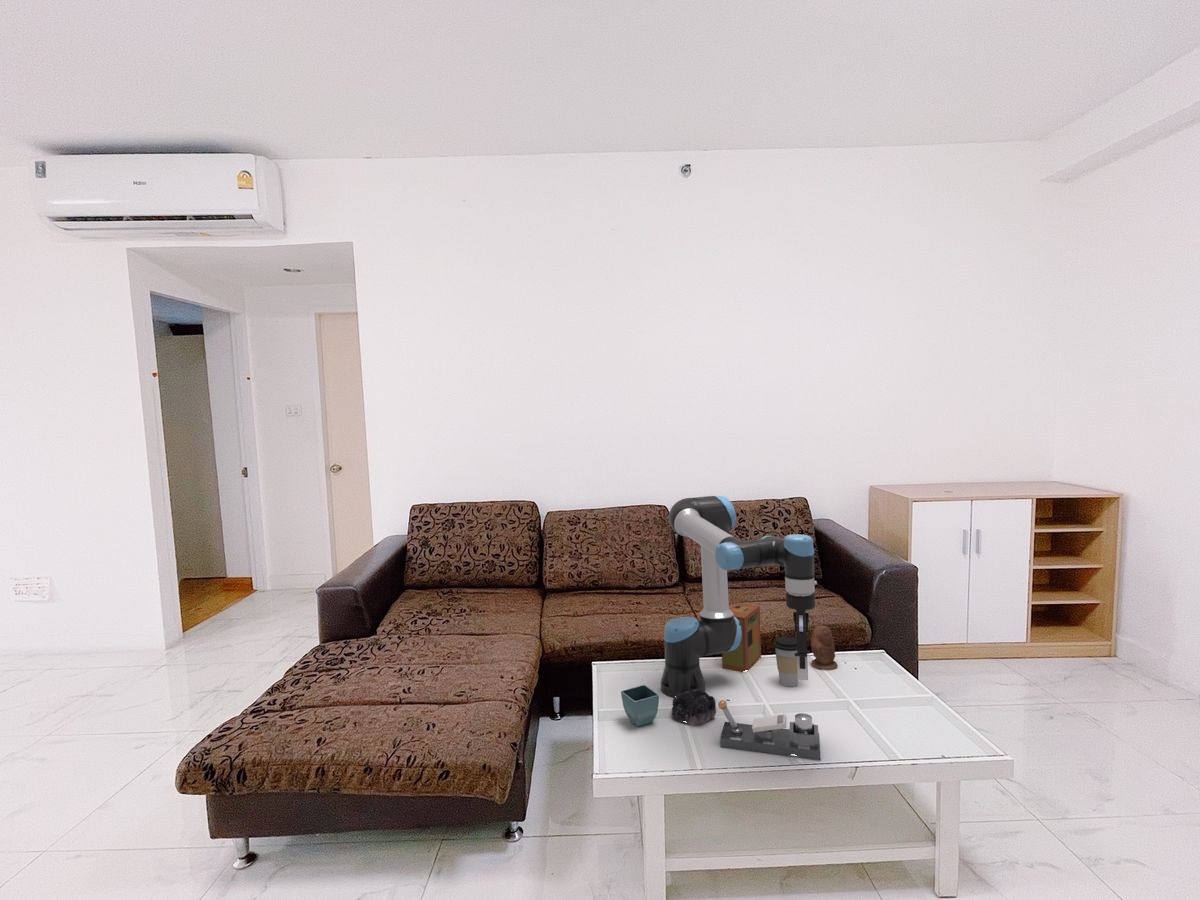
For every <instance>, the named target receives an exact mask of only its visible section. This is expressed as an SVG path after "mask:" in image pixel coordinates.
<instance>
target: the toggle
mask: <svg viewBox="0 0 1200 900" xmlns="http://www.w3.org/2000/svg"><path fill="white" fill-rule="evenodd" d="M717 706H718V708H719V709H720V710H722V712H723V714H724V715H725V716H724V717H726V719H727V722H730V724H731V726H732V728H734V727H736V726H737V724H736V723H737V722H736V720H735V718H734V717H733V715H732V714H731V712H730V709H728V705H727V702H726V701H725V700H723V699H722V700H719V701H718V704H717Z"/></svg>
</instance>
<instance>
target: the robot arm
mask: <svg viewBox="0 0 1200 900" xmlns="http://www.w3.org/2000/svg"><path fill="white" fill-rule="evenodd" d="M734 507H735V506H734V505H733V503H732V502H731V500H729V498H727V497H726V496H724V495H707V496H698V497H686V498H681V499H679V500H678V501H677V502H675V503H674V504H673V505H672V506H671V508H670V510H669V513H668V522H669V525H670V527H671V528H672V530H673V531H674V532H675V533H677V534H678V535H680V536H682V537H685V538H686V537H687V538H689V539H691V541H693V542H695V543H697V544H698V545H699V546H700V558H701V559H700V560H701V578H702V579H701V580H702V581H701V583H702V599H703V600H702V601H703V608H702V610H701V611H700V612H699V620H698V619H697V618H695V617H694V616H680V617H679V616H678V617H675V618H671V619H670V620H669V621H667V622H666V623H665V625H664V631H663V640H664V641H663V642H664V643H663V645H664V646H663V647H664V663H665V664H664V670H663V672H662V676H661V680H660V691H661V692H662V693H663V694H664V695H666V696H669V697H672V698H674V697H673V696H678V695H680V694H682V693H684V692H687V691H690V690H695V689H696V688H700V689H701V690H703V691H704V692H706V680H705V678H704V675H703V672H702V669H701V665H700V657H706V656H712V655H718V654H722V653H727V652H729V651H733V650H735V649H736V648H737V647H738V646H739V644H740V642H741V636H742V631H741V626H739V624H740V623H739V621H738V619H737V618H736V617H734V614H733V612H732V611H731V610H730V609H729V608H730V606H729V602H730V601H729V587H728V571H729V570H730V571H736V570H741V569H749V568H757V567H766V566H780V567H784V571H785V574H784V575H785V576H784V581H785V591H786V593H785V605H786V607H788V609H790V610H795V611H793V615H792V616H793V617H792V618H793V622H794V631H795V633H796V638H797V653H795V656H797V674H798V681H799V680H801V681H809V664H808V663H809V661H808V655H810V652H811V651H810V650H808V645H807V643H808V642H807V633H808V632H809V620H810V618H809V615H810V614H809V612H807V611H811V610H813V609H814V608H815V607H816V595H815V589H816V588H815V587H816V585H817V584H818V582H817V580H815V548H814V539H813V537H812V536H811V535H807V534H798V533H795V534H794V533H793V534H787V535H785V536H784V538H782V537H779V536H778V537H777V536H776V535H775V536H774V535H765V536H762V537H761V538H759V539H751V540H750V539H749V540H748V539H747V540H740V539H738V538H737V537H735V536H733V535H732V534H730V530H731V529H732V528H734V526H735V525H736V522H737V516H736V510H735V508H734Z"/></svg>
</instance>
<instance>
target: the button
mask: <svg viewBox="0 0 1200 900" xmlns="http://www.w3.org/2000/svg"><path fill="white" fill-rule="evenodd" d="M794 722H795V731H796V733H801V734H809V735H811V734H812V724H813V716H811V715H810V714H808V713H803V712H800V713H796V714H795V715H794Z"/></svg>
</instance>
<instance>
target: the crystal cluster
mask: <svg viewBox="0 0 1200 900" xmlns="http://www.w3.org/2000/svg"><path fill="white" fill-rule="evenodd" d="M671 705H672V707H671V717H672V718H673V719H675V720H677V721H679V722H680V723H683V721H686V722H687V723H688V724H687V725H690V726H697V725H704V724H705V723H706V722H709V721H711V720H712V719H713V718H714V717H715V716H716V715H717V705H716V699H715V697H714V696H712V695H709V694H708V693H707V692H706V691H705V692H704V691H703V690H701V689H700V688H696V689H695V690H690V691H687V692H684V693H682V694H680V695H678V696H676V697H673V699H672V704H671Z"/></svg>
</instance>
